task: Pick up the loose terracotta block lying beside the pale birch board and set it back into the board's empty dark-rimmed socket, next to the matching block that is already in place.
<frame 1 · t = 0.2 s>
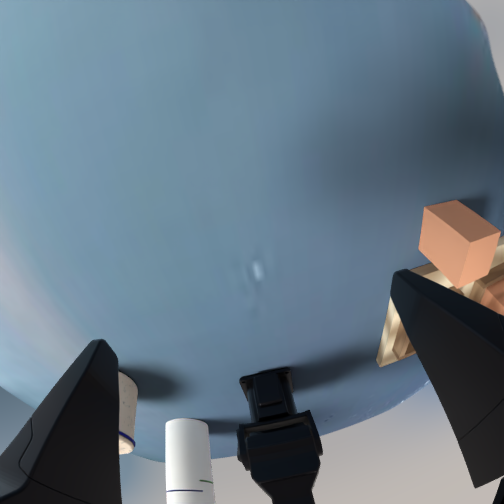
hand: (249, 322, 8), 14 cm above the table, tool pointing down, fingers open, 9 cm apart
socket board: (452, 297, 32), on the table
loose block: (438, 224, 25), on the table
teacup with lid: (103, 384, 32), on the table
cylindrical container: (186, 425, 40), on the table
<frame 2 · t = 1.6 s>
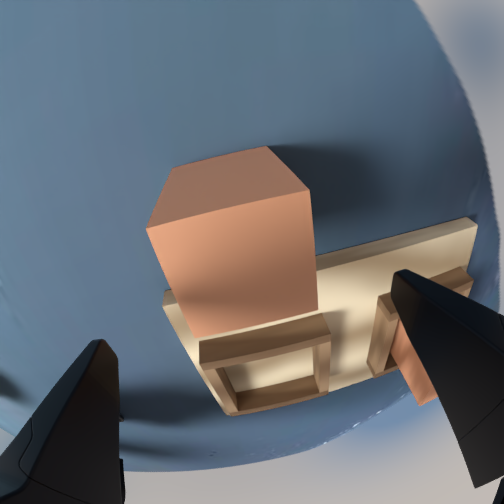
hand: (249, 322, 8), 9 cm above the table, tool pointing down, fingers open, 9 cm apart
socket board: (341, 328, 22), on the table
loose block: (229, 199, 15), on the table
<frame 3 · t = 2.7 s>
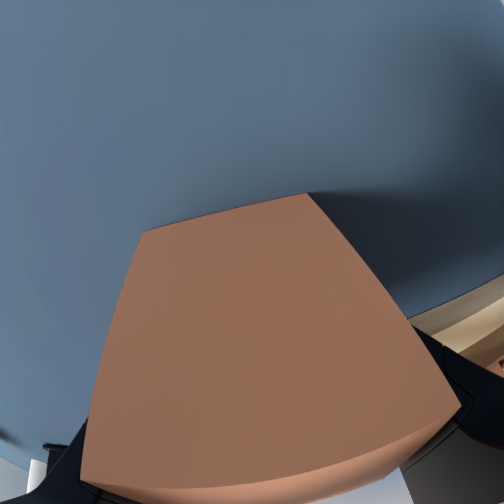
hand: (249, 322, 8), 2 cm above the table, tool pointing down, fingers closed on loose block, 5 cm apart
socket board: (371, 397, 17), on the table
loose block: (240, 278, 10), on the table, touching gripper
cylindrical container: (51, 467, 25), on the table
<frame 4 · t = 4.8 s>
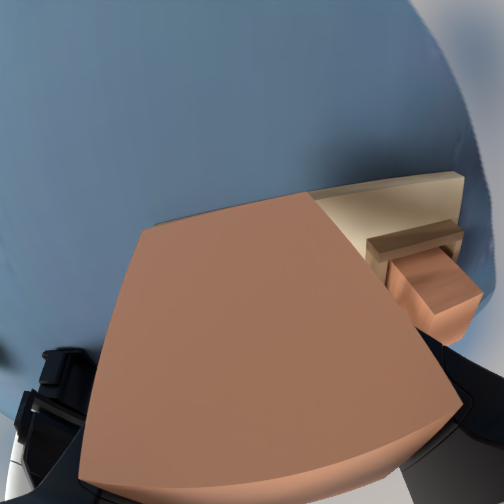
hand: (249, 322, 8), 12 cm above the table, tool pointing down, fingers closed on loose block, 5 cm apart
socket board: (331, 279, 23), on the table
loose block: (240, 277, 10), point 10 cm above the table, touching gripper
cylindrical container: (45, 404, 31), on the table
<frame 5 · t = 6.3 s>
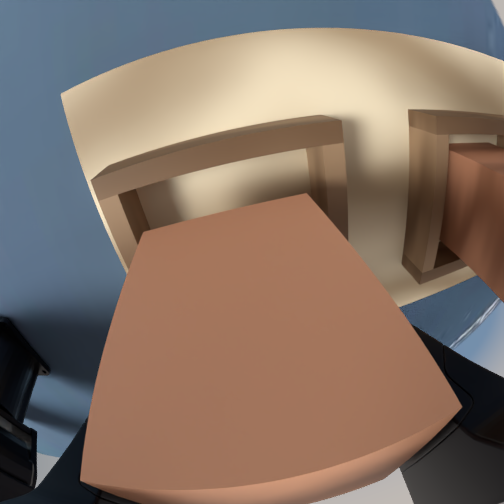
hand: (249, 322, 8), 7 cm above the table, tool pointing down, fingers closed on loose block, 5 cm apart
socket board: (358, 190, 14), on the table
loose block: (240, 278, 10), point 5 cm above the table, touching gripper
when the fingers open (4 cm above the table, at t = 7.1 s): loose block stays where it is, resting on socket board.
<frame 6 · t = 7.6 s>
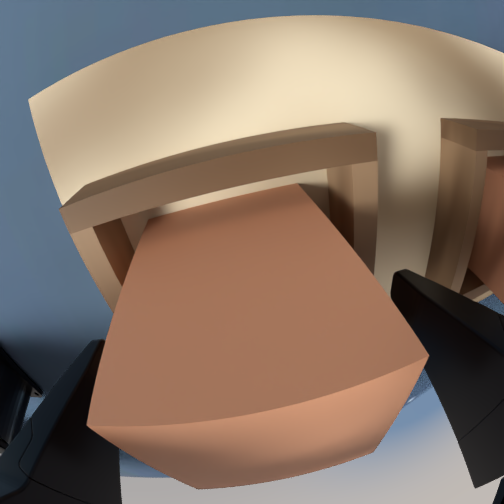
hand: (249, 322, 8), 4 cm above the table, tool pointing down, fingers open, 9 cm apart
socket board: (379, 209, 12), on the table
loose block: (237, 263, 10), point 1 cm above the table, touching socket board
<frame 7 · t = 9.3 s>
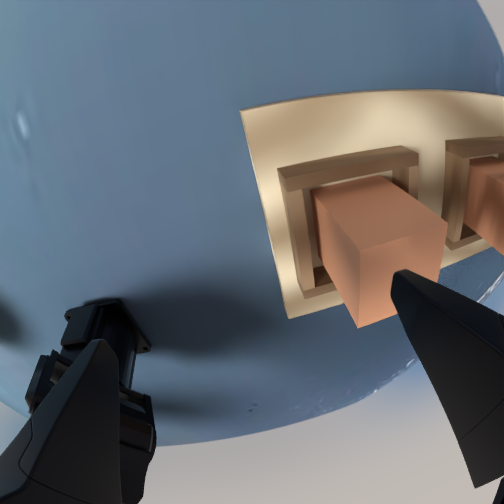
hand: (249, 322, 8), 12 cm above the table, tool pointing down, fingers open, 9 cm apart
socket board: (412, 190, 19), on the table
loose block: (348, 216, 18), point 1 cm above the table, touching socket board
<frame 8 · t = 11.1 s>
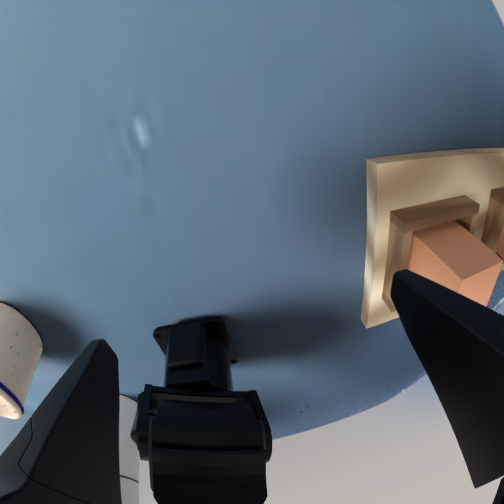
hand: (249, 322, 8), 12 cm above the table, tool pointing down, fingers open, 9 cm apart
socket board: (462, 225, 23), on the table
loose block: (425, 247, 21), point 1 cm above the table, touching socket board
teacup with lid: (11, 334, 22), on the table
cylindrical container: (116, 404, 31), on the table
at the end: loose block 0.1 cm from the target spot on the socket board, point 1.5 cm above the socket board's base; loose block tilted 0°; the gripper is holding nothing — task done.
